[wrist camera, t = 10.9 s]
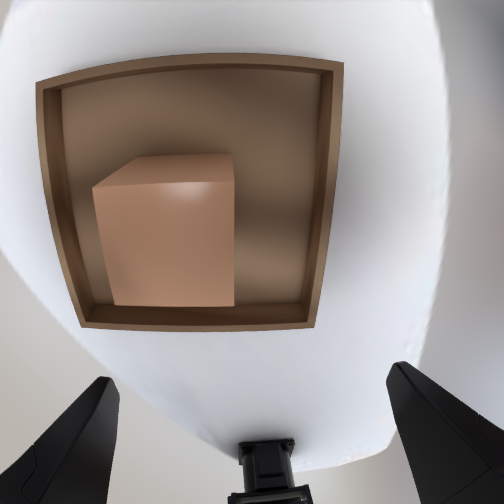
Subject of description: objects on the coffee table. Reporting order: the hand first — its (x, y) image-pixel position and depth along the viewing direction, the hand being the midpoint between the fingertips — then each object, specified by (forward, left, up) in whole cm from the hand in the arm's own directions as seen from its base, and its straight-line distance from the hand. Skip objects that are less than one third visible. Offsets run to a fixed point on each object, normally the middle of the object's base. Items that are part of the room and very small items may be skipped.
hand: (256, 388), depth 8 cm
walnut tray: (+3, +3, -11) cm, 11 cm away
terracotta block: (+3, +3, -10) cm, 11 cm away
